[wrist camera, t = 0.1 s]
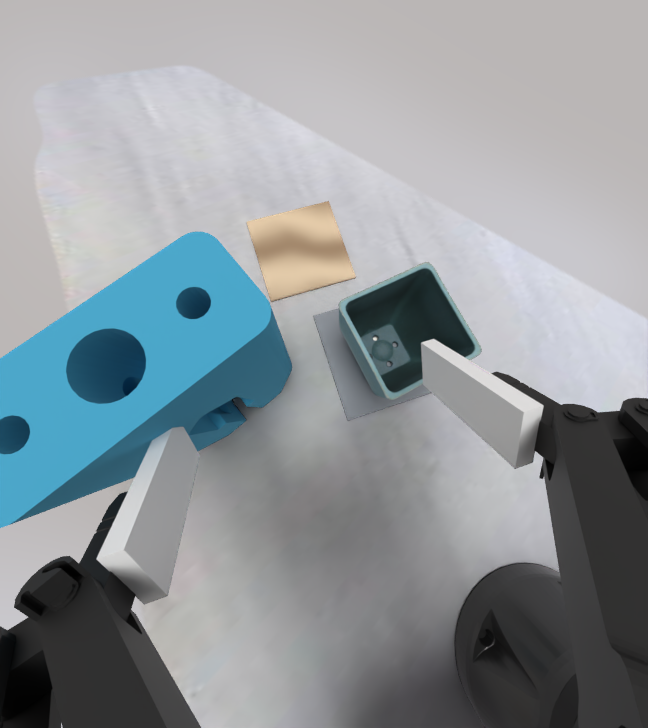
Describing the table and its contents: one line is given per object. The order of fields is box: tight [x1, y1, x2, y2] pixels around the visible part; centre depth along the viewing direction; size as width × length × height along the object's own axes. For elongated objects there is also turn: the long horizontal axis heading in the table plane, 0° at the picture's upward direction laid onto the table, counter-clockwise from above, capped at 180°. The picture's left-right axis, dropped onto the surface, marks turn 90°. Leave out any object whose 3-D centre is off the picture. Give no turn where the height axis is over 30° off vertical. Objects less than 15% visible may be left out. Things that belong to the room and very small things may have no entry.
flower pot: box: [339, 262, 482, 400], centre depth 27 cm, size 9×9×9 cm
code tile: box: [313, 309, 432, 420], centre depth 31 cm, size 12×12×1 cm
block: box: [0, 232, 292, 528], centre depth 20 cm, size 12×5×20 cm, turn 130°
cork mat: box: [247, 201, 356, 302], centre depth 33 cm, size 10×10×1 cm
